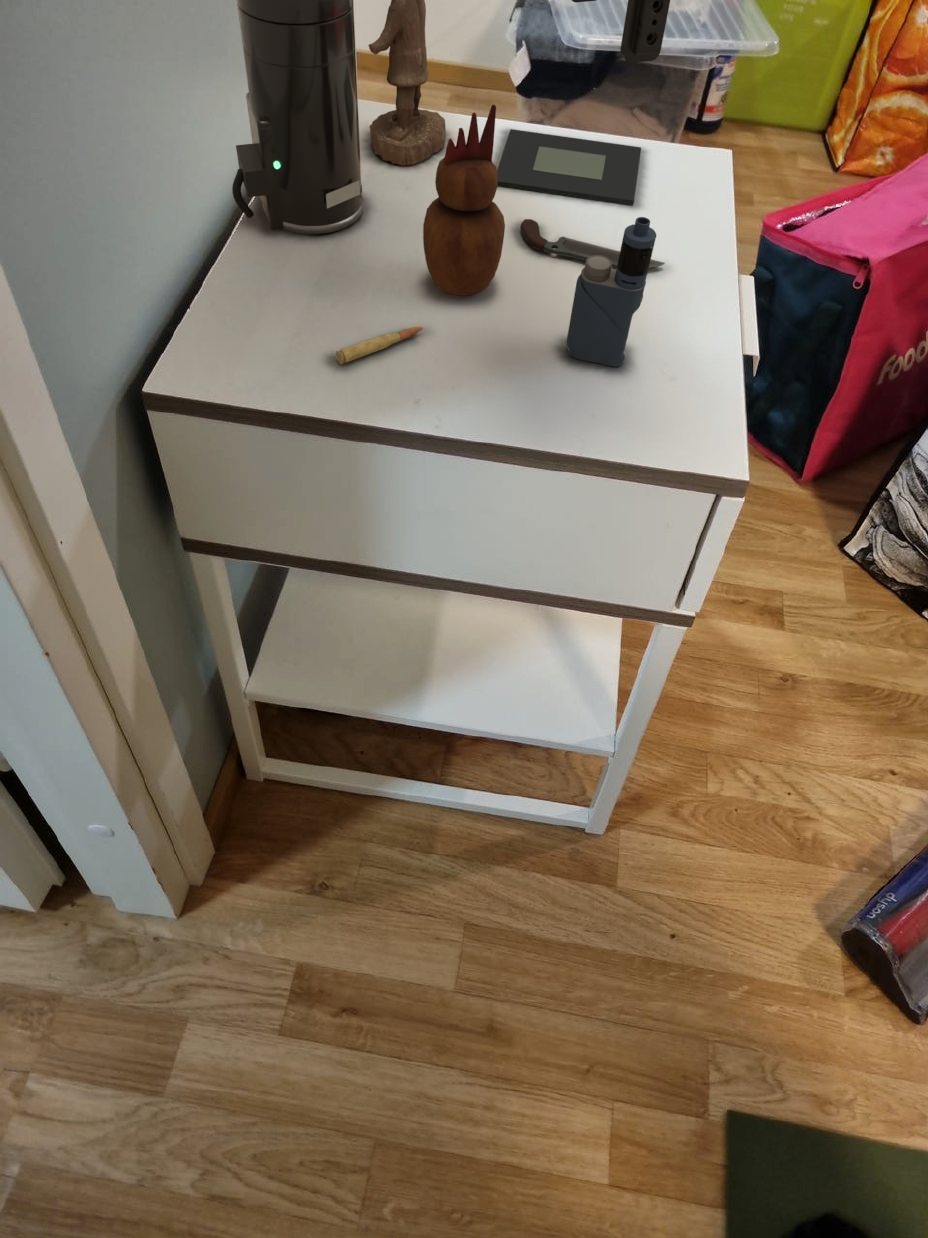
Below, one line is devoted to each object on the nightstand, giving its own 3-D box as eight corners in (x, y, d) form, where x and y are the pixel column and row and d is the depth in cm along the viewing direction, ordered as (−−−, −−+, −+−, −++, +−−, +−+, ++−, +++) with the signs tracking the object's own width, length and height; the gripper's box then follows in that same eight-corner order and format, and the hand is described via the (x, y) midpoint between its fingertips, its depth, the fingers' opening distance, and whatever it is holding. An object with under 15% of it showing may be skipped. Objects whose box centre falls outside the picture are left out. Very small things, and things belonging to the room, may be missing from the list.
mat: (493, 185, 90) (493, 179, 90) (510, 133, 97) (510, 128, 96) (633, 205, 89) (634, 199, 89) (640, 151, 96) (641, 146, 96)
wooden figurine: (501, 269, 82) (517, 93, 70) (496, 307, 78) (512, 129, 66) (427, 262, 82) (430, 85, 70) (418, 299, 78) (420, 120, 66)
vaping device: (624, 370, 74) (657, 233, 64) (562, 357, 75) (585, 219, 65) (630, 351, 76) (662, 214, 66) (568, 338, 76) (592, 201, 67)
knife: (510, 244, 84) (510, 237, 83) (524, 223, 86) (524, 216, 86) (656, 282, 82) (658, 275, 81) (667, 259, 84) (668, 252, 83)
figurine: (380, 120, 97) (374, -111, 81) (450, 129, 97) (458, -102, 81) (362, 161, 92) (352, -78, 76) (435, 170, 92) (441, -68, 75)
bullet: (335, 358, 73) (342, 367, 73) (335, 348, 72) (341, 356, 72) (418, 328, 76) (426, 336, 76) (419, 318, 75) (427, 326, 75)
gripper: (537, -396, 44) (511, -13, 57) (660, -342, 36) (597, 88, 49) (676, -395, 46) (620, -23, 59) (823, -342, 38) (720, 74, 51)
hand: (610, 27), depth 54 cm, fingers open, 8 cm apart
